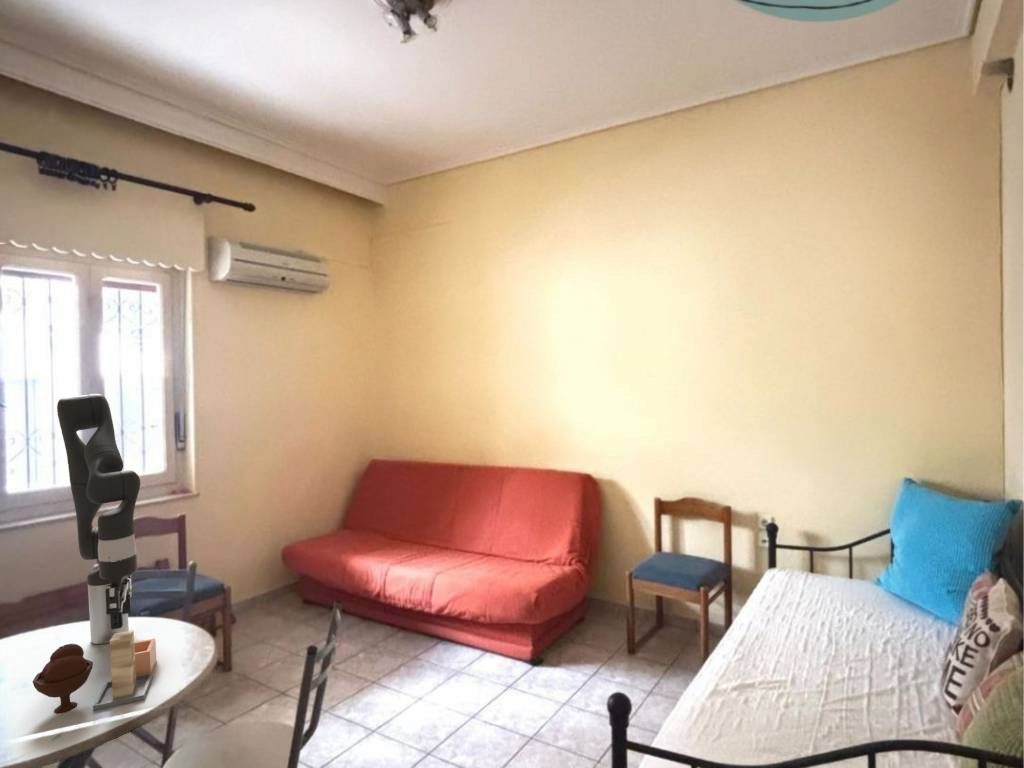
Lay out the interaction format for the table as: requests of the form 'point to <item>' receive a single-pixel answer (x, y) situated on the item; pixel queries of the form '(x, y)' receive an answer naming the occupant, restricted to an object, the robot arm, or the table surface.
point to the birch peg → (123, 664)
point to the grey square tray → (108, 701)
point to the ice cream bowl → (64, 675)
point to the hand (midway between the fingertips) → (121, 620)
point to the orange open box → (145, 656)
